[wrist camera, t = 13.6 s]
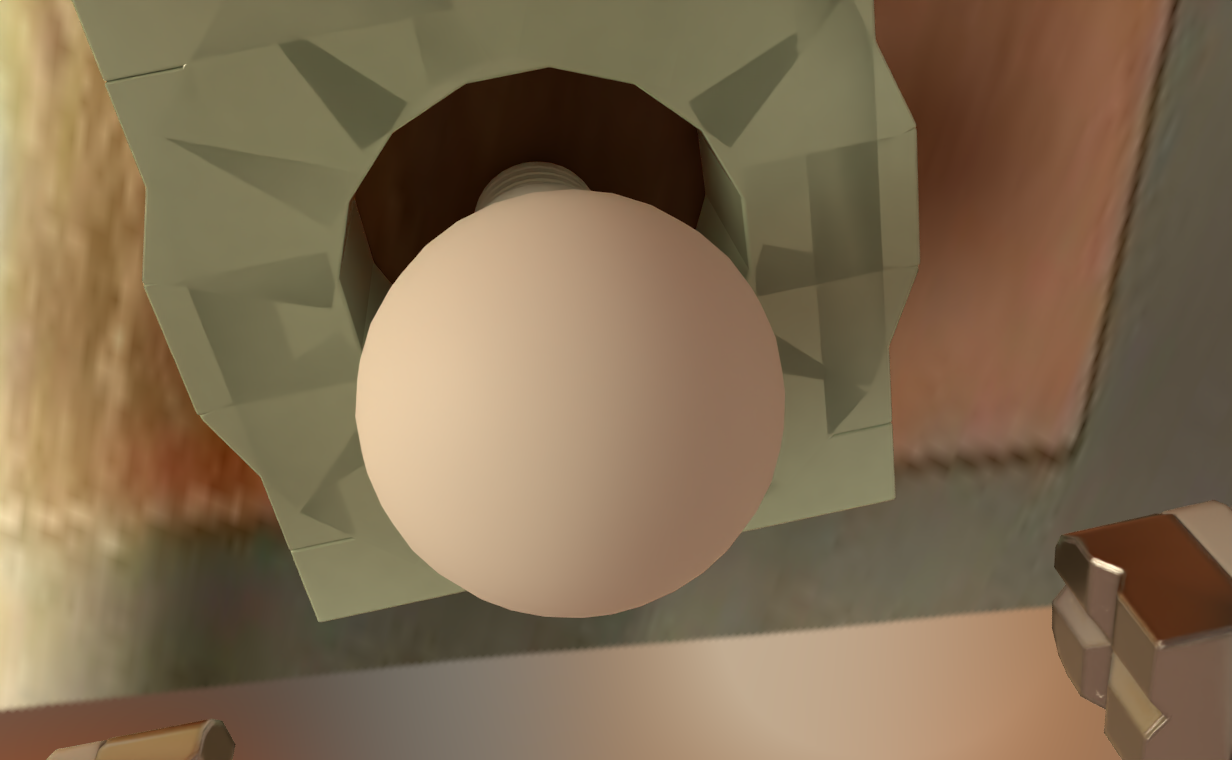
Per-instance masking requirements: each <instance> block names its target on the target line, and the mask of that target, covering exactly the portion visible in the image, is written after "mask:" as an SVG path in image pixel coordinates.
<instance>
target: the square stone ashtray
mask: <svg viewBox="0 0 1232 760" xmlns="http://www.w3.org/2000/svg"><path fill="white" fill-rule="evenodd" d="M72 2H73V5H74V7H75V10H76V12H77V15H78V18H79V20H80V23H81V25H82V28H83V30H84V33H85V35H86V38H87V40H88V43H89V45H90V48H91V50H92V53H93V55H94V58H95V60H96V63H97V65H98V68H99V70H100V73H101V76H102V78H103V79H104V81H107V82H106V83H105V86H106V89H107V91H108V94H109V96H110V99H111V101H112V104H113V107H114V109H115V112H116V114H117V117H118V119H119V122H120V124H121V127H122V129H123V132H124V134H125V137H126V139H127V142H128V144H129V147H130V149H131V152H132V154H133V157H134V159H135V162H136V164H137V167H138V170H139V172H140V175H141V177H142V180H143V182H144V185H145V187H146V192H145V217H144V242H143V268H142V281H143V283H144V289H145V291H146V294H147V296H148V298H149V301H150V303H151V306H152V308H153V310H154V313H155V315H156V318H157V320H158V322H159V325H160V327H161V329H162V332H163V334H164V337H165V339H166V341H167V344H168V346H169V349H170V351H171V353H172V356H173V358H174V361H175V363H176V365H177V368H178V370H179V373H180V375H181V377H182V380H183V382H184V385H185V387H186V389H187V392H188V394H189V397H190V399H191V401H192V404H193V406H194V409H195V411H196V413H197V414H198V415H200V417H201V419H202V420H203V421H204V422H205V423H206V424H207V425H208V426H209V427H210V428H211V429H212V430H213V431H214V432H215V433H216V434H217V435H218V436H219V437H220V438H221V439H222V440H223V441H224V442H225V443H226V444H227V445H228V446H229V447H230V448H231V449H233V450H234V451H235V452H236V453H237V454H238V455H239V456H240V457H241V458H242V459H243V460H244V461H245V462H246V463H247V464H248V465H249V466H250V467H251V468H252V469H253V470H254V471H255V472H256V473H257V474H258V475H259V476H260V477H261V480H262V482H263V485H264V487H265V490H266V492H267V495H268V497H269V500H270V502H271V505H272V507H273V510H274V512H275V515H276V517H277V520H278V522H279V525H280V527H281V530H282V533H283V535H284V538H285V540H286V543H287V545H288V548H289V549H290V550H291V554H292V557H293V559H294V562H295V564H296V567H297V569H298V572H299V574H300V577H301V579H302V582H303V584H304V587H305V589H306V592H307V594H308V597H309V600H310V602H311V605H312V607H313V610H314V612H315V615H316V617H317V620H318V621H319V622H324V621H329V620H334V619H338V618H343V617H348V616H352V615H357V614H362V613H366V612H371V611H376V610H380V609H385V608H390V607H394V606H399V605H404V604H408V603H413V602H418V601H422V600H427V599H432V598H436V597H441V596H446V595H450V594H455V593H460V592H464V591H467V590H465V589H463V588H462V587H460V586H458V585H457V584H455V583H453V582H452V581H450V580H448V579H447V578H445V577H443V576H442V575H440V574H438V573H437V572H436V571H435V570H434V569H433V568H432V567H430V566H429V565H428V564H427V563H426V562H425V561H424V560H423V559H421V558H420V557H419V556H418V555H417V554H416V553H415V552H414V551H412V549H411V548H410V546H409V545H408V544H407V542H406V541H405V540H404V538H403V537H402V536H401V534H400V533H399V531H398V530H397V529H396V527H395V526H394V525H393V523H392V522H391V520H390V519H389V517H388V515H387V514H386V512H385V511H384V509H383V507H382V506H381V504H380V501H379V499H378V497H377V495H376V492H375V490H374V488H373V485H372V483H371V481H370V478H369V476H368V474H367V471H366V467H365V463H364V459H363V455H362V451H361V446H360V440H359V435H358V429H357V424H356V418H355V412H356V394H357V378H358V370H359V363H360V358H361V355H362V351H363V348H364V344H365V341H366V338H367V334H368V331H369V327H370V324H371V322H372V320H373V318H374V317H375V315H376V313H377V311H378V309H379V308H380V306H381V304H382V302H383V300H384V298H385V297H386V295H387V293H388V291H389V289H390V288H391V287H392V284H391V283H390V281H389V280H388V279H387V278H386V277H385V275H384V274H383V273H382V272H381V271H380V269H379V268H378V267H377V266H376V264H375V263H374V261H373V258H372V255H371V251H370V248H369V245H368V241H367V238H366V235H365V231H364V228H363V224H362V221H361V218H360V214H359V211H358V208H357V204H356V201H355V193H356V191H357V189H358V187H359V186H360V184H361V183H362V181H363V180H364V178H365V176H366V175H367V173H368V172H369V170H370V168H371V167H372V165H373V164H374V162H375V160H376V159H377V157H378V156H379V154H380V152H381V151H382V149H383V148H384V146H385V144H386V143H387V141H388V140H389V138H390V137H391V135H392V133H394V132H395V131H397V130H398V129H400V128H401V127H403V126H404V125H406V124H407V123H409V122H410V121H411V120H413V119H414V118H416V117H417V116H419V115H420V114H422V113H423V112H425V111H426V110H428V109H429V108H431V107H432V106H434V105H435V104H437V103H438V102H440V101H441V100H442V99H444V98H445V97H447V96H448V95H450V94H451V93H453V92H454V91H456V90H457V89H459V88H460V87H462V86H463V85H465V84H469V83H474V82H479V81H484V80H489V79H494V78H499V77H504V76H509V75H514V74H519V73H524V72H529V71H534V70H539V69H544V68H549V67H550V68H555V69H560V70H565V71H570V72H575V73H580V74H585V75H589V76H594V77H599V78H604V79H609V80H614V81H619V82H624V83H629V84H634V85H636V86H637V87H638V88H640V89H641V90H643V91H644V92H646V93H647V94H648V95H650V96H651V97H653V98H654V99H656V100H657V101H659V102H660V103H661V104H663V105H664V106H666V107H667V108H669V109H670V110H672V111H673V112H674V113H676V114H677V115H679V116H680V117H682V118H683V119H684V120H686V121H687V122H689V123H690V124H692V125H693V126H695V127H696V129H697V132H698V139H699V147H700V155H701V163H702V171H703V178H704V186H705V194H706V195H705V198H704V202H703V205H702V209H701V213H700V216H699V220H698V223H697V227H696V231H698V232H700V233H701V234H702V235H703V236H704V237H705V238H707V239H708V240H709V241H710V242H711V243H712V244H714V245H715V246H716V247H717V248H718V249H719V250H721V251H722V252H723V253H724V254H725V255H726V256H728V257H729V258H730V260H731V261H732V262H733V264H734V265H735V266H736V268H737V269H738V270H739V272H740V273H741V274H742V276H743V277H744V278H745V280H746V281H747V282H748V284H749V285H750V286H751V288H752V289H753V291H754V293H755V295H756V296H757V298H758V300H759V302H760V303H761V305H762V308H763V310H764V312H765V314H766V317H767V319H768V321H769V323H770V326H771V328H772V330H773V333H774V335H775V337H776V341H777V346H778V352H779V357H780V362H781V368H782V373H783V380H784V388H785V412H784V430H783V436H782V442H781V448H780V452H779V456H778V459H777V463H776V467H775V471H774V475H773V478H772V482H771V484H770V486H769V488H768V490H767V492H766V494H765V496H764V498H763V500H762V502H761V504H760V506H759V508H758V510H757V512H756V513H755V514H754V516H753V517H752V518H751V520H750V521H749V523H748V524H747V525H746V527H745V528H744V529H743V531H742V532H745V531H749V530H754V529H759V528H763V527H768V526H773V525H777V524H782V523H787V522H791V521H796V520H801V519H805V518H810V517H815V516H819V515H824V514H829V513H833V512H838V511H843V510H847V509H852V508H857V507H861V506H866V505H871V504H875V503H880V502H885V501H889V500H893V499H895V496H896V495H895V472H894V448H893V425H892V423H891V422H892V403H891V380H890V357H889V345H890V343H891V340H892V338H893V335H894V332H895V330H896V327H897V325H898V322H899V319H900V317H901V314H902V312H903V309H904V306H905V304H906V301H907V299H908V296H909V293H910V291H911V288H912V286H913V283H914V280H915V278H916V275H917V273H918V265H919V264H920V234H919V196H918V157H917V129H916V122H915V120H914V118H913V116H912V114H911V112H910V110H909V108H908V106H907V104H906V101H905V99H904V97H903V95H902V93H901V91H900V89H899V87H898V85H897V83H896V81H895V79H894V77H893V75H892V73H891V70H890V68H889V66H888V64H887V62H886V60H885V58H884V56H883V54H882V52H881V50H880V48H879V46H878V44H877V42H876V33H875V10H874V0H72Z"/></svg>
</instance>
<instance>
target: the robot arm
mask: <svg viewBox="0 0 1232 760" xmlns="http://www.w3.org/2000/svg"><path fill="white" fill-rule="evenodd" d="M1054 567H1055V569H1056V570H1057V572H1058V573H1059V575H1060V576H1061V577H1062V579H1063V580H1064V582H1065V583H1066V585H1065V586H1064V588H1063V589H1062V590H1061V591H1060V593H1059V594H1058V595H1057V597H1056V598H1055V599H1054V600H1053V602H1052V629H1053V633H1054V638H1055V642H1056V646H1057V650H1058V654H1059V657H1060V659H1061V662H1062V664H1063V666H1064V668H1065V670H1066V673H1067V675H1068V677H1069V678H1070V680H1071V682H1072V683H1073V685H1074V686H1075V688H1076V690H1077V691H1078V693H1079V694H1080V696H1081V697H1083V698H1085V699H1087V700H1089V701H1090V702H1092V703H1094V704H1096V705H1098V706H1100V707H1102V708H1104V709H1106V716H1105V728H1104V733H1105V735H1106V736H1107V738H1108V739H1109V741H1110V742H1111V744H1112V745H1113V747H1114V748H1115V750H1116V751H1117V753H1118V754H1119V756H1120V757H1121V759H1122V760H1232V510H1231V509H1230V508H1229V507H1228V506H1227V505H1225V504H1223V503H1220V502H1218V501H1216V500H1212V501H1207V502H1203V503H1199V504H1194V505H1190V506H1185V507H1181V508H1177V509H1172V510H1168V511H1164V512H1162V513H1161V514H1152V515H1148V516H1143V517H1139V518H1134V519H1130V520H1125V521H1121V522H1117V523H1112V524H1108V525H1103V526H1099V527H1094V528H1090V529H1086V530H1081V531H1077V532H1072V533H1068V534H1063V535H1061V537H1060V539H1059V541H1058V543H1057V545H1056V548H1055V563H1054ZM234 748H235V743H234V741H233V739H232V738H231V736H230V734H229V732H228V730H227V729H226V727H225V725H224V723H223V722H222V721H220V720H214V719H208V720H203V721H198V722H192V723H187V724H182V725H177V726H171V727H166V728H161V729H156V730H151V731H145V732H140V733H135V734H129V735H124V736H119V737H114V738H110V739H108V740H105V741H101V742H95V743H89V744H83V745H78V746H73V747H67V748H62V749H56V751H54V752H53V754H51V755H50V756H49V758H47V759H46V760H232V758H233V754H234Z"/></svg>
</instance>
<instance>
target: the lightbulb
mask: <svg viewBox="0 0 1232 760" xmlns="http://www.w3.org/2000/svg"><path fill="white" fill-rule="evenodd" d="M784 412H785V388H784V380H783V373H782V368H781V362H780V357H779V352H778V346H777V341H776V337H775V335H774V333H773V330H772V328H771V326H770V323H769V321H768V319H767V317H766V314H765V312H764V310H763V308H762V305H761V303H760V302H759V300H758V298H757V296H756V295H755V293H754V291H753V289H752V288H751V286H750V285H749V284H748V282H747V281H746V280H745V278H744V277H743V276H742V274H741V273H740V272H739V270H738V269H737V268H736V266H735V265H734V264H733V262H732V261H731V260H730V258H729V257H728V256H726V255H725V254H724V253H723V252H722V251H721V250H719V249H718V248H717V247H716V246H715V245H714V244H712V243H711V242H710V241H709V240H708V239H707V238H705V237H704V236H703V235H702V234H701V233H700V232H698V231H696V230H695V229H693V228H692V227H690V226H688V225H687V224H685V223H683V222H682V221H680V220H678V219H676V218H674V217H672V216H671V215H669V214H667V213H665V212H663V211H661V210H659V209H658V208H656V207H654V206H652V205H650V204H647V203H643V202H640V201H637V200H634V199H630V198H627V197H624V196H621V195H617V194H614V193H606V192H596V191H590V189H589V188H588V186H587V185H586V184H585V183H584V181H583V180H582V179H581V178H579V177H578V176H577V175H576V174H575V173H573V172H572V171H570V170H568V169H566V168H564V167H563V166H559V165H556V164H553V163H548V162H539V161H538V162H526V163H522V164H518V165H515V166H512V167H510V168H508V169H506V170H504V171H502V172H501V173H500V174H498V175H497V176H496V177H494V178H493V179H492V180H491V181H490V182H489V184H488V185H487V186H486V187H485V188H484V190H483V192H482V193H481V195H480V197H479V199H478V202H477V205H476V208H475V213H473V214H471V215H469V216H467V217H465V218H463V219H461V220H459V221H457V222H456V223H454V224H453V225H452V226H451V227H449V228H448V229H447V230H445V231H444V232H443V233H441V234H440V235H439V236H437V237H436V238H435V239H434V240H432V241H431V242H430V243H428V244H427V245H426V246H425V247H424V248H423V249H422V250H421V252H420V253H419V254H418V255H417V256H416V257H415V258H414V260H413V261H412V262H411V263H410V264H409V265H408V266H407V268H406V269H405V270H404V271H403V272H402V273H401V275H400V276H399V277H398V279H397V280H396V281H395V283H394V284H393V285H392V287H391V288H390V289H389V291H388V293H387V295H386V297H385V298H384V300H383V302H382V304H381V306H380V308H379V309H378V311H377V313H376V315H375V317H374V318H373V320H372V322H371V324H370V327H369V331H368V334H367V338H366V341H365V344H364V348H363V351H362V355H361V358H360V363H359V370H358V378H357V394H356V412H355V418H356V424H357V429H358V435H359V440H360V446H361V451H362V455H363V459H364V463H365V467H366V471H367V474H368V476H369V478H370V481H371V483H372V485H373V488H374V490H375V492H376V495H377V497H378V499H379V501H380V504H381V506H382V507H383V509H384V511H385V512H386V514H387V515H388V517H389V519H390V520H391V522H392V523H393V525H394V526H395V527H396V529H397V530H398V531H399V533H400V534H401V536H402V537H403V538H404V540H405V541H406V542H407V544H408V545H409V546H410V548H411V549H412V551H414V552H415V553H416V554H417V555H418V556H419V557H420V558H421V559H423V560H424V561H425V562H426V563H427V564H428V565H429V566H430V567H432V568H433V569H434V570H435V571H436V572H437V573H438V574H440V575H442V576H443V577H445V578H447V579H448V580H450V581H452V582H453V583H455V584H457V585H458V586H460V587H462V588H463V589H465V590H467V591H468V592H470V593H472V594H473V595H475V596H477V597H478V598H480V599H482V600H485V601H488V602H490V603H493V604H496V605H498V606H501V607H504V608H506V609H509V610H512V611H517V612H522V613H528V614H533V615H538V616H543V617H570V618H585V617H593V616H602V615H610V614H615V613H618V612H622V611H626V610H629V609H633V608H636V607H640V606H643V605H645V604H647V603H649V602H652V601H654V600H656V599H658V598H661V597H663V596H665V595H667V594H669V593H672V592H674V591H676V590H677V589H679V588H680V587H682V586H684V585H685V584H687V583H688V582H690V581H691V580H693V579H694V578H696V577H697V576H699V575H700V574H702V573H703V572H704V571H706V570H707V569H708V568H709V567H710V566H711V565H712V564H713V563H714V562H715V561H716V560H718V559H719V558H720V557H721V556H722V555H723V554H724V553H725V552H726V551H727V550H728V549H729V548H730V546H731V545H732V544H733V542H734V541H735V540H736V538H737V537H738V536H739V535H740V533H741V532H742V531H743V529H744V528H745V527H746V525H747V524H748V523H749V521H750V520H751V518H752V517H753V516H754V514H755V513H756V512H757V510H758V508H759V506H760V504H761V502H762V500H763V498H764V496H765V494H766V492H767V490H768V488H769V486H770V484H771V482H772V478H773V475H774V471H775V467H776V463H777V459H778V456H779V452H780V448H781V442H782V436H783V430H784Z"/></svg>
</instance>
